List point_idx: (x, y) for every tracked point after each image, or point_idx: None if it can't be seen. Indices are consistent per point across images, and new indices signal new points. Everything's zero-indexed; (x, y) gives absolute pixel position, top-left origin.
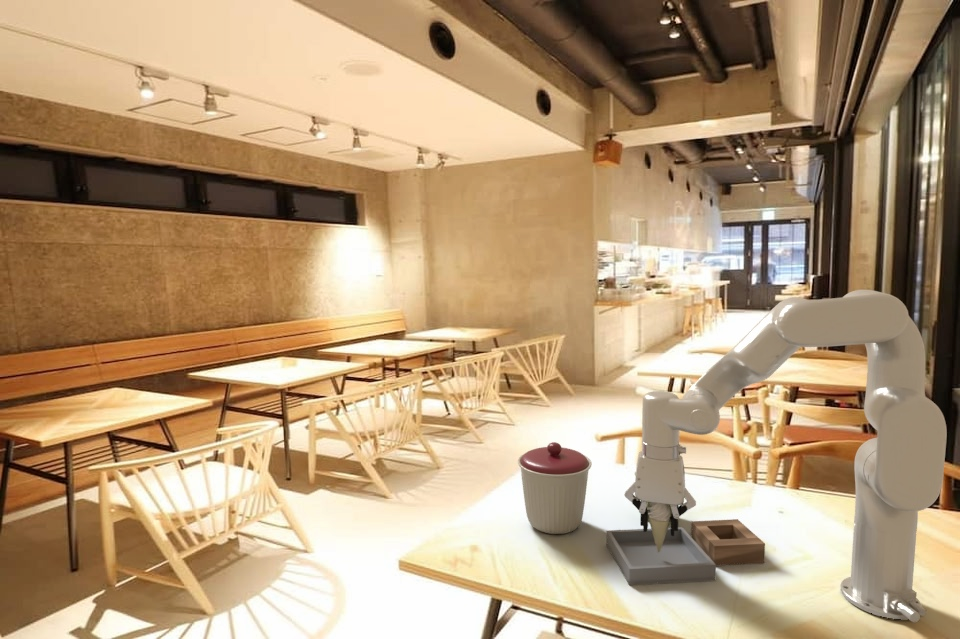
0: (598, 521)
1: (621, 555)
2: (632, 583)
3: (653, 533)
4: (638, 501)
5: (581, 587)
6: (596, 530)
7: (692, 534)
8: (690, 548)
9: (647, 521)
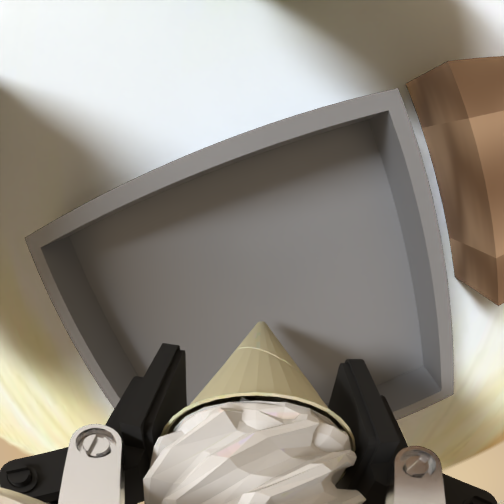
0: (34, 51)
1: None
2: None
3: (226, 400)
4: (51, 490)
5: None
6: (26, 122)
7: (424, 91)
8: (406, 227)
9: (174, 412)
